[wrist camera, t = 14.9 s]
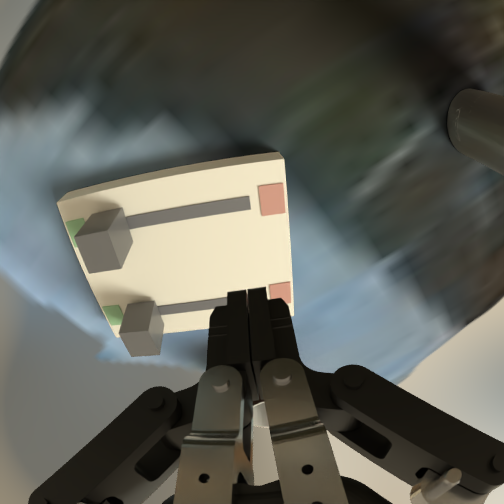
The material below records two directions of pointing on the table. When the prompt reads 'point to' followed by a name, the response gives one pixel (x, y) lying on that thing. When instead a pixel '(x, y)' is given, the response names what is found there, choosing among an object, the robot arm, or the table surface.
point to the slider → (142, 329)
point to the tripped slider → (104, 241)
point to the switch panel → (192, 237)
